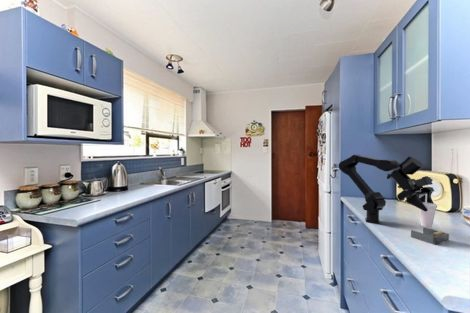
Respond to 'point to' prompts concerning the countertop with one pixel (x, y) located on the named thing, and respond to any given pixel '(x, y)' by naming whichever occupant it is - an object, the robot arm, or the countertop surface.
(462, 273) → the countertop surface
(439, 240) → the bracket
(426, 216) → the smoothie
